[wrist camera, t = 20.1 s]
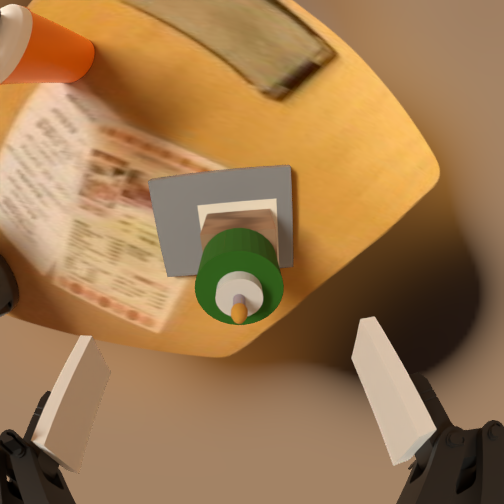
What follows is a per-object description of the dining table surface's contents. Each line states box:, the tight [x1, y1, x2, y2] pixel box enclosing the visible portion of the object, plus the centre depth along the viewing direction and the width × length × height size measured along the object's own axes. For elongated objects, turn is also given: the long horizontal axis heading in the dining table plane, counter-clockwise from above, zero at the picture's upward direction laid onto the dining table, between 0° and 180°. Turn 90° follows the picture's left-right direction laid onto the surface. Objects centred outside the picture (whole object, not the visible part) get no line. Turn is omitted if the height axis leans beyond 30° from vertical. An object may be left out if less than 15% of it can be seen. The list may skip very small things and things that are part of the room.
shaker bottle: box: [0, 4, 95, 85], centre depth 17 cm, size 9×9×20 cm
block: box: [200, 209, 277, 256], centre depth 35 cm, size 8×8×7 cm
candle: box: [195, 228, 284, 325], centre depth 27 cm, size 8×8×10 cm
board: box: [148, 165, 293, 277], centre depth 37 cm, size 18×14×2 cm
